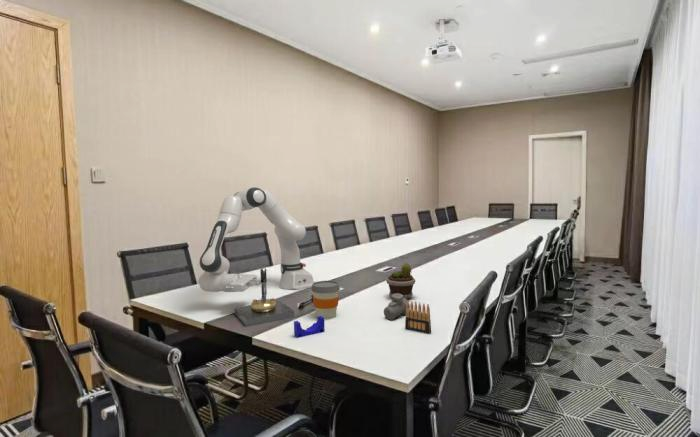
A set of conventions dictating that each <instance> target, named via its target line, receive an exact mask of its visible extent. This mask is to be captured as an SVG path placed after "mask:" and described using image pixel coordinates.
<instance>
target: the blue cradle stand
mask: <svg viewBox="0 0 700 437" xmlns="http://www.w3.org/2000/svg"><path fill="white" fill-rule="evenodd" d="M325 328H326V327H325V319H324V318H323V317H322V316H318V318H317V319H316V322H314V323H312V325H311V326H309V327H307V328H306V329H304V328H303V327H302V325H301V322H300V321H298V320H295V321H293V335H294V337H295V338H297V339H299V338H304V337H307V336H308V337H309V336H314V335H318V334H321V333H325V332H326V331H325V330H326V329H325Z"/></svg>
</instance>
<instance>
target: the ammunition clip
mask: <svg viewBox="0 0 700 437" xmlns="http://www.w3.org/2000/svg"><path fill="white" fill-rule="evenodd" d="M409 301H410V300H407V305H406V314H405V319H404V320H405V323H404V329H405V330H408V331H412V332H418V333H423V334H427V335H431V333H432V323H431V321H432V320H431V311H430V309H431V308H430V304H429V303H427V305H426V304H425V302H423V303H422V304H421V302H418V303H417V301H415V302H414V303H413V301H412V300H411V302H409ZM409 304H410V308H409Z"/></svg>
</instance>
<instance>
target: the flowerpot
mask: <svg viewBox="0 0 700 437" xmlns="http://www.w3.org/2000/svg"><path fill="white" fill-rule="evenodd" d="M400 268H401V269H398V270H394V271H392V273H391V275H388V277H387V278H386V280H385V282H386V284H387V285H388V288H389V296H390V297H391V298H392V294H396V293H398V294H402V295H403V298H405V299H407V301H409V300H410V299H412V297H413V295H414V294H413V287H414V285H415V283H416V279H415V278H414V277H413V275H412V272H413V268H412V266H411V265H410V263H408V262H404V263H403V265H402V266H401V267H400Z"/></svg>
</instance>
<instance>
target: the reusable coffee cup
mask: <svg viewBox="0 0 700 437" xmlns="http://www.w3.org/2000/svg"><path fill="white" fill-rule="evenodd" d="M311 291H312V302H313V307H314V309H315V310H314V311H315V316H316V318H317V319H318V316H322V317H323V318H324V320H331V319H334V318H336V316H337V310H338V305H339V298H340V295H339V292H340V283H339V282H338V281H335V280H319V281H315V283H313V284H312V286H311Z"/></svg>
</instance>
